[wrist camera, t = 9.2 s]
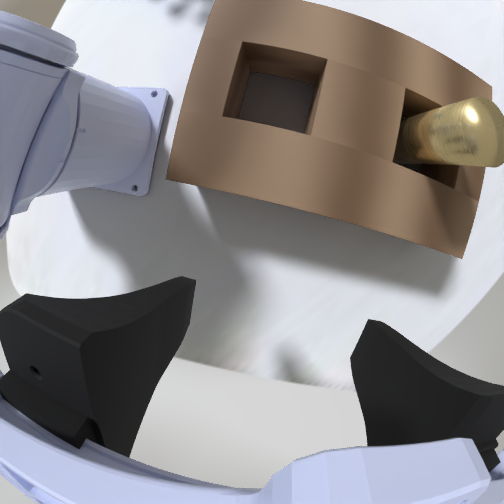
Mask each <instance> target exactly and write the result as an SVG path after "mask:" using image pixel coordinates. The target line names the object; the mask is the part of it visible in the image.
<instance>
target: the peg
mask: <svg viewBox="0 0 504 504" xmlns="http://www.w3.org/2000/svg"><path fill="white" fill-rule="evenodd" d="M392 162H394V163H397V164H443V165H467V166H482V167H498V166H500V165H502V164H503V163H504V116H503V114H502V112H501V111H500V109H499V108H498V107H497V106H496V105H495V104H494V103H493V102H492V101H491V100H489V99H488V98H485V97H481V96H479V97H474V98H470V99H467V100H463V101H460V102H456V103H453V104H450V105H446V106H443V107H440V108H436V109H433V110H430V111H427V112H424V113H421V114H418V115H415V116H412V117H409V118H406V119H403V120H401V121H400V126H399V132H398V137H397V142H396V147H395V152H394V157H393V161H392Z"/></svg>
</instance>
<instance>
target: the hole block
mask: <svg viewBox="0 0 504 504" xmlns="http://www.w3.org/2000/svg"><path fill="white" fill-rule="evenodd" d="M250 71H254V72H259V73H265V74H270V75H275V76H280V77H284V78H289V79H293V80H297V81H301V82H305V83H309V84H313V85H315V88H314V92H313V97H312V101H311V105H310V110H309V114H308V119H307V123H306V127H305V131H304V134H303V133H299V132H295V131H291V130H287V129H283V128H278V127H274V126H270V125H265V124H260V123H255V122H251V121H245V120H240V119H238V117H239V113H240V109H241V105H242V101H243V97H244V93H245V89H246V85H247V82H248V78H249V74H250ZM479 96H481V97H485V98H488V99H489V100H491V101H492V87H491V86H490V85H489V84H487V83H486V82H485V81H483V80H482V79H481V78H479V77H478V76H476V75H475V74H473V73H472V72H471V71H469V70H468V69H466V68H465V67H463V66H461V65H460V64H458V63H457V62H455V61H453V60H452V59H450V58H448V57H447V56H445V55H443V54H442V53H440V52H438V51H436V50H435V49H433V48H431V47H429V46H427V45H425V44H423V43H421V42H419V41H417V40H415V39H413V38H411V37H409V36H407V35H405V34H403V33H400V32H398V31H396V30H394V29H391V28H389V27H386V26H384V25H382V24H379V23H376V22H374V21H371V20H368V19H366V18H363V17H360V16H357V15H354V14H351V13H348V12H345V11H341V10H338V9H335V8H331V7H327V6H324V5H320V4H316V3H311V2H307V1H302V0H215V3H214V5H213V8H212V10H211V13H210V16H209V18H208V21H207V24H206V27H205V30H204V32H203V35H202V38H201V41H200V44H199V47H198V50H197V54H196V57H195V60H194V63H193V67H192V70H191V73H190V77H189V80H188V84H187V87H186V91H185V95H184V98H183V102H182V106H181V110H180V114H179V118H178V122H177V127H176V131H175V135H174V140H173V145H172V149H171V154H170V159H169V164H168V169H167V174H166V180H171V181H176V182H181V183H186V184H191V185H196V186H201V187H206V188H211V189H215V190H220V191H225V192H229V193H234V194H238V195H243V196H247V197H251V198H256V199H260V200H264V201H268V202H272V203H277V204H281V205H285V206H289V207H293V208H296V209H300V210H304V211H308V212H312V213H316V214H319V215H323V216H327V217H330V218H334V219H338V220H341V221H345V222H348V223H352V224H355V225H359V226H362V227H366V228H369V229H372V230H376V231H379V232H382V233H386V234H389V235H392V236H395V237H398V238H402V239H405V240H408V241H411V242H414V243H417V244H420V245H423V246H426V247H429V248H432V249H435V250H438V251H441V252H444V253H447V254H450V255H452V256H455V257H458V258H461V259H462V258H463V255H464V252H465V249H466V246H467V243H468V239H469V236H470V233H471V229H472V226H473V222H474V218H475V215H476V211H477V207H478V203H479V198H480V194H481V189H482V184H483V179H484V173H485V167H482V166H467V165H443V164H422V165H421V169H420V173H418V172H415V171H413V170H410V169H408V168H405V167H403V166H400V165H398V164H395V163H393V162H392V161H393V157H394V152H395V147H396V142H397V137H398V132H399V126H400V121H401V115H402V116H404V117H407V118H409V117H412V116H415V115H418V114H421V113H424V112H427V111H430V110H433V109H436V108H440V107H443V106H446V105H450V104H453V103H456V102H460V101H463V100H467V99H470V98H474V97H479Z"/></svg>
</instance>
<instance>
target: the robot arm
mask: <svg viewBox="0 0 504 504" xmlns="http://www.w3.org/2000/svg"><path fill="white" fill-rule="evenodd" d="M78 57H79V56H78V54H77V53H76V44H75V41H73V40H72V39H70V38H68V37H66V36H64V35H62V34H60V33H58V32H56V31H54V30H52V29H49V28H46V27H45V26H42V25H40V24H37V23H35V22H32V21H30V20H27V19H24V18H22V17H19V16H16V15H13V14H10V13H6V12H3V11H0V241H1V240H2V238H3V237H4V236H5V234H6V232H7V230H8V227H9V222H10V218H11V215H14V214H17V213H21V212H25V211H27V210H28V207H29V205H30V203H31V201H32V200H33V199H34V198H35V197H39V196H43V195H48V194H53V193H59V192H64V191H69V190H75V189H81V188H87V187H95V188H100V189H106V190H111V191H116V192H121V193H126V194H131V195H136V196H144V195H146V194H147V193H148V191H149V185H150V179H151V173H152V168H153V162H154V157H155V152H156V147H157V142H158V138H159V133H160V129H161V124H162V120H163V116H164V112H165V108H166V104H167V100H168V96H169V93H168V91H167V90H166V89H164V88H150V87H115V86H112V85H110V84H108V83H105V82H103V81H101V80H98V79H96V78H93V77H91V76H88V75H86V74H83V73H81V72H78V71H76V70H73V69H71V68H69V67H73V66H74V64H75V63H76V61H77V59H78ZM67 66H68V67H67ZM155 92H158V94H157V96H156V97H153V94H154V93H155ZM135 185H137V187H138V190H137V191H135V190H134V186H135ZM195 285H196V280H194V279H190V278H186V277H182V276H181V277H177V278H174V279H171V280H168V281H165V282H163V283H160V284H157V285H154V286H151V287H148V288H145V289H141V290H138V291H134V292H131V293H127V294H122V295H116V296H110V297H101V298H88V299H67V298H53V297H46V296H39V295H32V294H25V295H23V296H22V297H20V298H19V299H17V300H16V301H14V302H13V303H11V304H9V305H8V306H6V307H5V308H3V309H2V310H1V311H0V341H1V344H2V347H3V350H4V354H5V357H6V360H7V362H8V365H9V368H10V370H9V371H8V372H7V373H6V374H5V375H3V373H2V372H1V371H0V474H1V475H2V476H4V478H6V479H7V480H8V481H9V482H10V483H12V484H13V485H14V486H15V487H17V488H18V489H19V490H20V491H21V492H23V493H24V494H25V495H27V496H28V497H29V498H31V499H32V500H33V501H35V502H36V503H37V504H504V449H503V450H502V451H500V452H499V453H498V454H496V452H495V450H494V449H495V448H496V447H497V446H498V442H497V440H496V438H497V437H498V435H499V434H500V433H501V432H502V431H503V430H504V386H501V385H497V384H492V383H489V382H486V381H483V380H479V379H477V378H474V377H471V376H468V375H466V374H464V373H462V372H460V371H457V370H455V369H453V368H451V367H449V366H448V365H446V364H444V363H442V362H440V361H439V360H437V359H435V358H434V357H432V356H431V355H429V354H428V353H426V352H425V351H423V350H422V349H420V348H419V347H418V346H416V345H415V344H414V343H412V342H411V341H409V340H408V339H407V338H405V337H404V336H403V335H401V334H400V333H399V332H397V331H396V330H394V329H393V328H391V327H390V326H388V325H387V324H385V323H383V322H381V321H376V320H371V319H368V321H367V323H366V325H365V328H364V330H363V332H362V334H361V336H360V338H359V341H358V343H357V345H356V347H355V349H354V351H353V353H352V355H351V357H350V360H351V369H352V376H353V380H354V384H355V388H356V391H357V395H358V398H359V402H360V405H361V409H362V413H363V416H364V421H365V426H366V435H367V443H368V444H367V445H368V446H363V447H362V446H361V447H360V446H356V447H349V448H341V449H331V450H324V451H321V452H318V453H315V454H312V455H309V456H306V457H302V458H299V459H296V460H294V461H293V462H292V463H290V464H289V465H287V466H286V467H284V468H283V469H282V470H280V471H279V472H277V473H276V474H274V475H273V476H272V477H271V479H270V480H269V482H268V483H267V484H266V486H265V487H264V488H263V489H257V488H256V489H255V488H253V489H252V488H233V487H228V486H223V485H218V484H213V483H209V482H204V481H200V480H196V479H192V478H188V477H184V476H181V475H177V474H174V473H171V472H167V471H164V470H161V469H158V468H155V467H152V466H149V465H146V464H144V463H141V462H138V461H136V460H133V459H131V458H129V457H130V453H131V450H132V447H133V444H134V441H135V439H136V435H137V433H138V430H139V427H140V425H141V422H142V420H143V417H144V414H145V412H146V409H147V407H148V404H149V402H150V400H151V397H152V395H153V392H154V390H155V388H156V386H157V384H158V382H159V380H160V378H161V376H162V375H163V373H164V372H165V370H166V368H167V367H168V365H169V363H170V361H171V360H172V358H173V357H174V355H175V353H176V351H177V350H178V348H179V346H180V345H181V343H182V341H183V338H184V336H185V334H186V331H187V329H188V326H189V324H190V317H191V310H192V304H193V297H194V291H195Z"/></svg>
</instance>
